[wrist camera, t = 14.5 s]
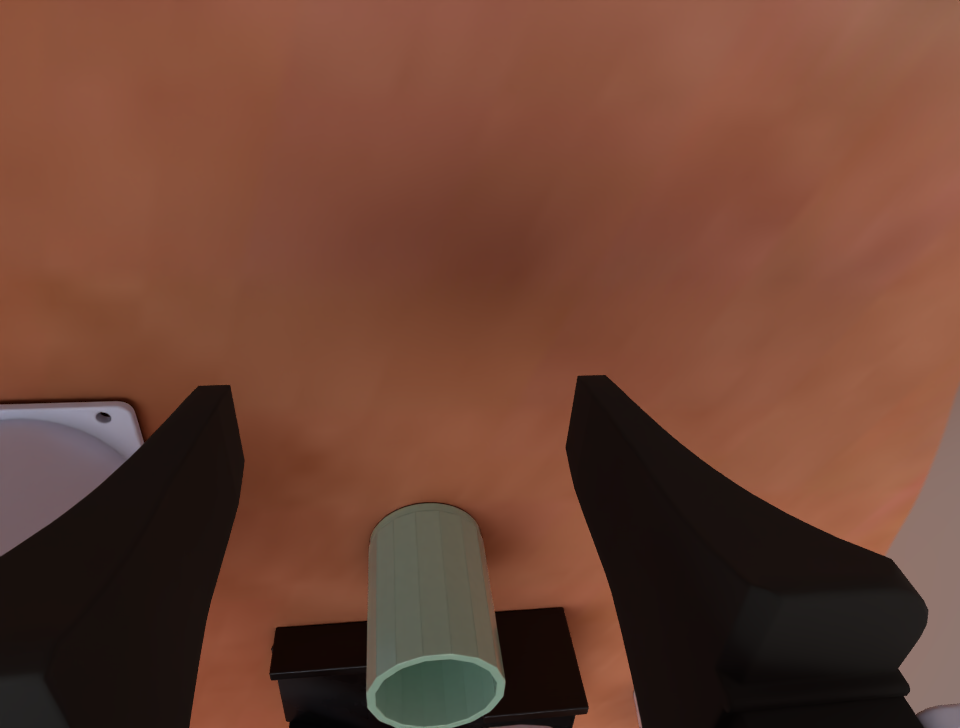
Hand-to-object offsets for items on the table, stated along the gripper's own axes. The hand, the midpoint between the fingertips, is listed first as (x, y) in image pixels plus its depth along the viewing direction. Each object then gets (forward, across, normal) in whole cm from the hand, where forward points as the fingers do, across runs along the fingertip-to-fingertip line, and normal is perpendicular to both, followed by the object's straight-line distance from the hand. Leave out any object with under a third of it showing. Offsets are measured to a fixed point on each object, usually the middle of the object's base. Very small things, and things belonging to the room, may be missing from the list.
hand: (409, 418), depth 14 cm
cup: (+10, -1, +16) cm, 19 cm away
